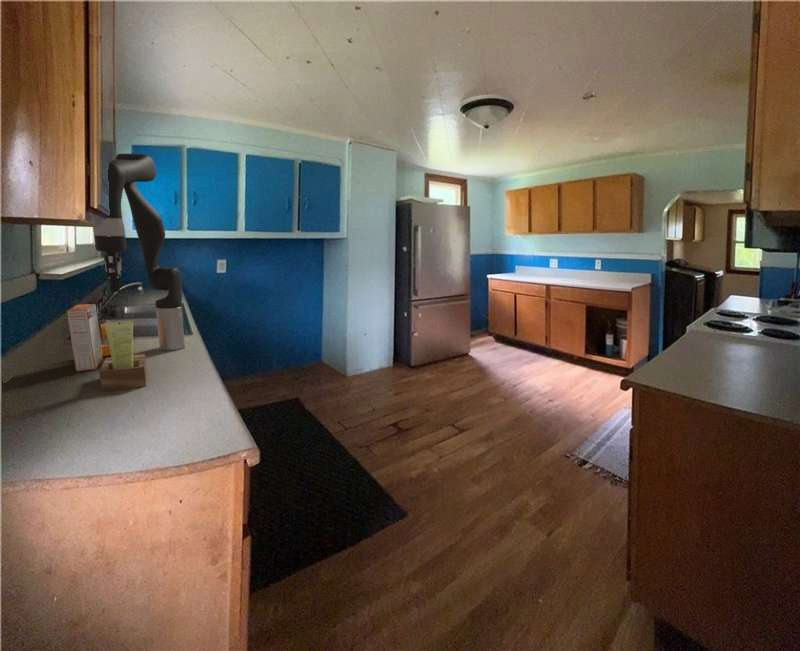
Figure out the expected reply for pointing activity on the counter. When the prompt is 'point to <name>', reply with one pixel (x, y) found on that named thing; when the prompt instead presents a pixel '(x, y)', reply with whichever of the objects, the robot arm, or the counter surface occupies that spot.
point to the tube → (120, 343)
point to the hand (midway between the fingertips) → (116, 290)
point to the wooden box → (123, 374)
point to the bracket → (105, 347)
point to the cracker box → (85, 336)
